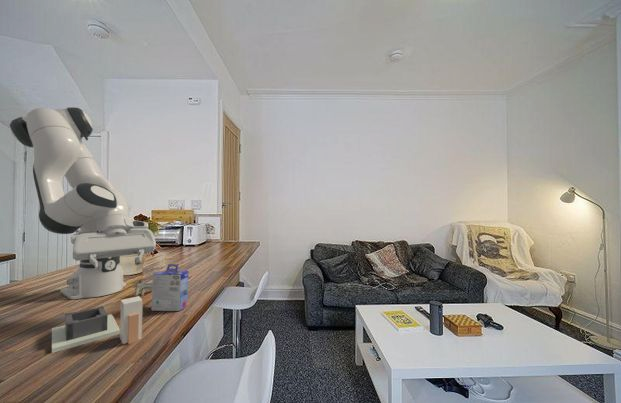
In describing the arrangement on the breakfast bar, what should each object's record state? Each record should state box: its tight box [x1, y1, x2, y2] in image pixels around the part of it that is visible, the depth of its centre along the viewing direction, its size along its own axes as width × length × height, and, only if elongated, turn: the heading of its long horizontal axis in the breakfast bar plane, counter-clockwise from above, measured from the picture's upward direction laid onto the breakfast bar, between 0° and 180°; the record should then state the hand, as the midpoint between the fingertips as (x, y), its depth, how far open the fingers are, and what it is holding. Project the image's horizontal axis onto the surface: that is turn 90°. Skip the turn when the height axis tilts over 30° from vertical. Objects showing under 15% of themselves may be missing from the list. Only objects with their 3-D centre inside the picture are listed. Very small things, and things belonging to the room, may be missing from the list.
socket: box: [51, 305, 120, 354], centre depth 69 cm, size 14×13×5 cm
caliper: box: [134, 279, 153, 297], centre depth 105 cm, size 20×1×6 cm, turn 146°
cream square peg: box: [119, 295, 143, 345], centre depth 66 cm, size 5×4×10 cm
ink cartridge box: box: [150, 263, 189, 312], centre depth 86 cm, size 10×6×14 cm, turn 89°
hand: (119, 266), depth 75 cm, fingers open, 8 cm apart
